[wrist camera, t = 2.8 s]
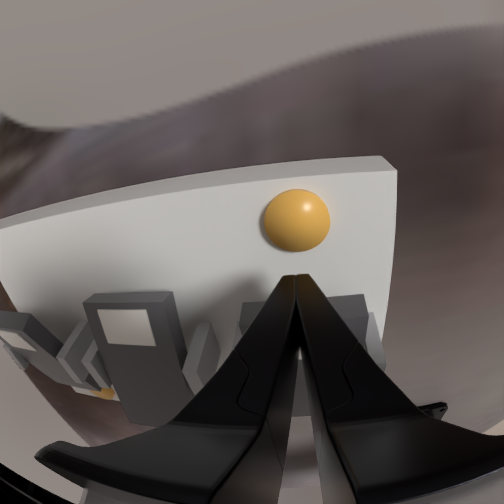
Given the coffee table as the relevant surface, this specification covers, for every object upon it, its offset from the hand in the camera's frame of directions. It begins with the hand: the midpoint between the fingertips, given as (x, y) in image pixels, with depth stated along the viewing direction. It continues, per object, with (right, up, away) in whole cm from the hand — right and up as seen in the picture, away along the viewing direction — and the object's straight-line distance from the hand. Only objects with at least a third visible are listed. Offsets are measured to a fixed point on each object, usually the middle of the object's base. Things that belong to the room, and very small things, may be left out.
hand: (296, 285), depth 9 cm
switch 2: (-6, -4, +3) cm, 8 cm away
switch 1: (-13, -5, +4) cm, 14 cm away
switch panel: (-6, -2, +7) cm, 9 cm away
